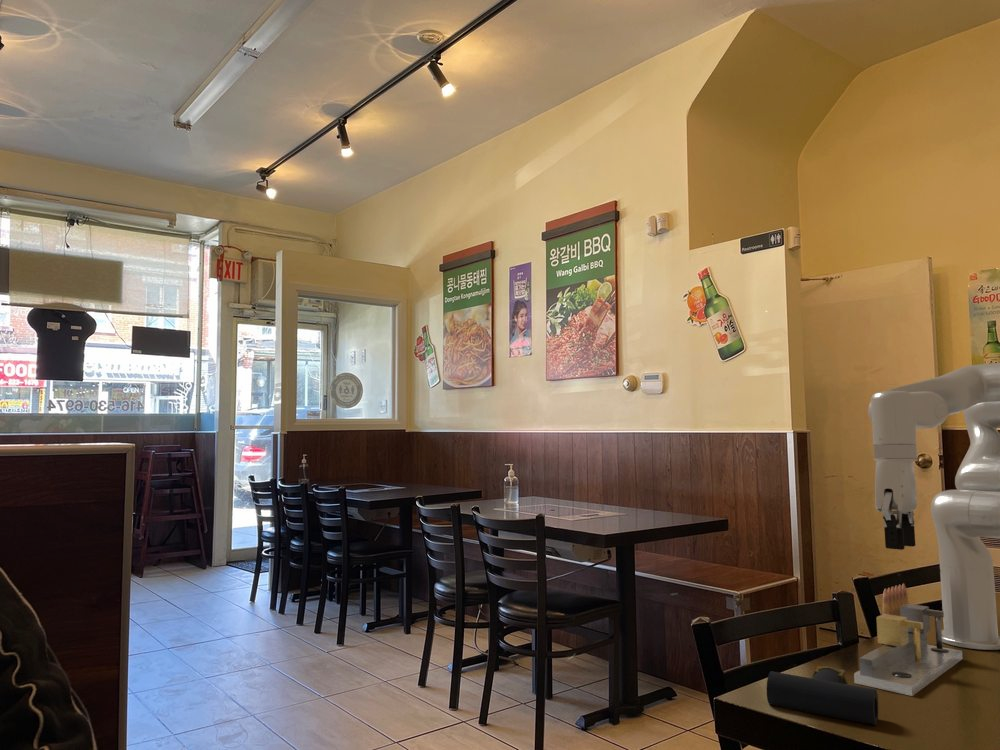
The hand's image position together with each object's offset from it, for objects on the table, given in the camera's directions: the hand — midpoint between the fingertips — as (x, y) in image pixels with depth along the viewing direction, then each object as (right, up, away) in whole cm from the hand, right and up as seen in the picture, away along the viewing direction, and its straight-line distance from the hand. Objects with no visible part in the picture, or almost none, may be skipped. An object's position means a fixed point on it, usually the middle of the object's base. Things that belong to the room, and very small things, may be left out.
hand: (900, 546), depth 137 cm
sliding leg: (-4, -19, -8) cm, 21 cm away
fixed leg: (+5, -20, +1) cm, 20 cm away
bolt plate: (-3, -21, -8) cm, 22 cm away
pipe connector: (-27, -19, -26) cm, 42 cm away
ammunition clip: (+5, -23, +9) cm, 25 cm away
